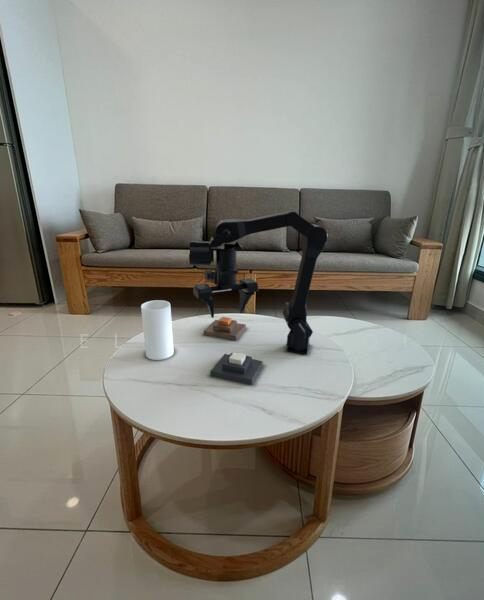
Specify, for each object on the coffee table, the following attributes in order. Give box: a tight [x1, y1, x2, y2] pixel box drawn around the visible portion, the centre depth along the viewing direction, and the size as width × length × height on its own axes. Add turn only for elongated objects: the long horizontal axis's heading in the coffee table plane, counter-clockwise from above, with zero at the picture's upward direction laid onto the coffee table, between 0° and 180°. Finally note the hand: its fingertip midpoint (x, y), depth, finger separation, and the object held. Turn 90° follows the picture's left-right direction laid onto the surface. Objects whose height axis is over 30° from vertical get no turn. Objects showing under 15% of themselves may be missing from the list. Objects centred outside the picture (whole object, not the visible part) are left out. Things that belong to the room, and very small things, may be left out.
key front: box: [229, 351, 247, 365], centre depth 90 cm, size 4×4×2 cm
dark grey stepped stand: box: [210, 352, 264, 386], centre depth 91 cm, size 12×10×4 cm
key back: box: [218, 316, 233, 326], centre depth 113 cm, size 4×4×2 cm
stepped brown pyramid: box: [203, 317, 247, 341], centre depth 114 cm, size 12×10×4 cm
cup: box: [140, 299, 175, 361], centre depth 97 cm, size 8×8×16 cm
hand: (226, 315), depth 98 cm, fingers open, 9 cm apart
